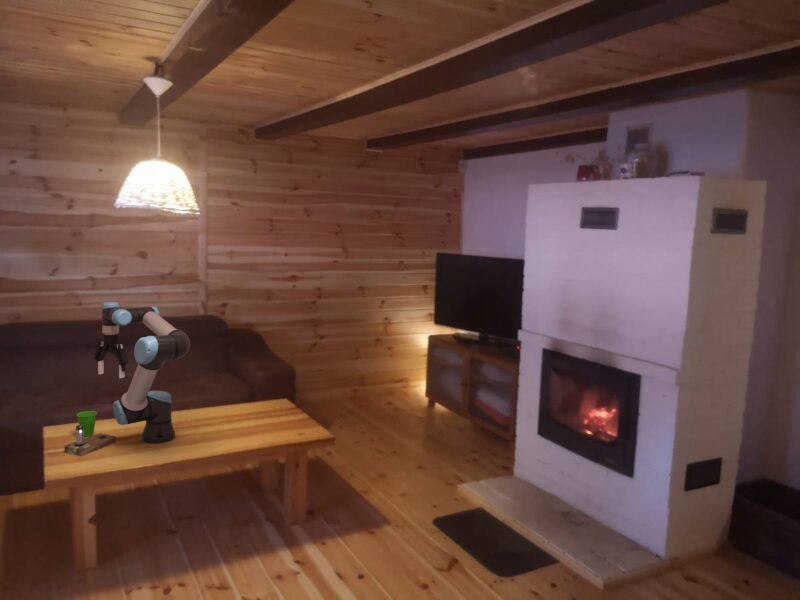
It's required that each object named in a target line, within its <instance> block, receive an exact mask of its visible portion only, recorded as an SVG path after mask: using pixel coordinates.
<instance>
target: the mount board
mask: <svg viewBox="0 0 800 600" xmlns="http://www.w3.org/2000/svg"><path fill="white" fill-rule="evenodd" d="M116 443H117V436H116V435H111V434H106V433H101V432H99V433H96V434H93V436H91V437H84V445H83V446H80V447H76V440H74V441H73V442H70V443H68V444H66V445H63V446H64V453H66V454H71V455H75V456H78V457H83V456H86V455H88V454H90V453H93V452H95V451H97V450H101V449H103V448H106V447H108V446H111V445H113V444H116Z"/></svg>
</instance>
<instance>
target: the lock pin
mask: <svg viewBox="0 0 800 600" xmlns="http://www.w3.org/2000/svg"><path fill="white" fill-rule="evenodd" d="M75 436H76V437H75V438H76V439H75V441H76V447H80V446H83V445H84V439H85V437H84V427H83V425H79V424H78V425H77V424H76V425H75Z"/></svg>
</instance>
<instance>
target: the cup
mask: <svg viewBox="0 0 800 600" xmlns="http://www.w3.org/2000/svg"><path fill="white" fill-rule="evenodd" d="M97 414H98V412H97V411H95V410H87V411H86V410H85V411H81V412H78V413H77V414H76V416H77V419H78V425H83V427H84V438H88V437H91V436H93V435H94V432H95V426H96V421H97V420H96V418H97Z"/></svg>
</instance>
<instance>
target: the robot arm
mask: <svg viewBox="0 0 800 600" xmlns="http://www.w3.org/2000/svg"><path fill="white" fill-rule="evenodd" d="M101 313H102V314H101V319H102V320H101V321H102V322H101V325H102V326H101V327H102V328H101V329H102V331H101V333H102V341H99V342H98V346H97V349H96V351H95V354H94V356H93V360H95V361H96V363H97V366H96V367H97V371H98V372H97V374H98V376H99V375H103V374H105V372H104V371H105V370H104V369H105V365H104V358H105V357H106V355H107V354H108V353H111V354H114V356H115V357H116V360H117V361H118V363H119V365H118V378H119V379H123V378H125V377H126V375H125V374H126V373H125V372H126V365H128V364H129V363H130V362H129V359H128V356H127V353H126V351H125V346H124V344H123V343H121V344H119V341H120V326H128V325H129V324H141V323H142V324H144V325H145V326H146V327H147V328H148V329H149V330H151V331H152V332H153V333H154V334H155V335H148V336H144V337H140V338H138V340H137V341H136V342H135V345H134V352H133V355H134V359H135V361H136V362H137V366H136V369H135V372H134V374H133V376H132V380H131V382H130V384H129V387H128V390H127V391H126V392H125V393H123V394H122V396H121V399H117V400H115V401H114V402H113V404H112V408H113V409H112V410H113V415H114V419H115V421H116V423H117V424H118V425H121V426H124V425H130V424H136V423H140V422H145V427H144V428H143V432H142V435H141V438H142V441H143V442H144V443H148V444H162V443H168V442H171V441H173V440H175V439H176V431H175V429H174V426H173V422H172V412H173V411H172V408H173V407H172V405H173V404H172V403H173V402H172V400H173V399H172V395H171V393H169V392H167V391H163V390H151V388H152V385H153V382H154V380H155V378H156V375H157V373H158V371H159V370H161V369H162V368H163V367H164V365H165V363H166V362H169V361H177V360H179V359H181V358H183V357H185V356H186V355H187V353H188V352H189V350H190V346H191V342H190V338H189V336H188V335H187V334H186V333H185V332H184V331H183V330H181V329H177V328H176V327H174V326H173V325H172V324H171V323H169V322H168V321H167V320H165V319H164V318H163V317H161V316H160V311H159V309H158V307H156V306H142V307H127V308H121V307H120V304H119V302H117V301H105V302H103V303H102V304H101Z"/></svg>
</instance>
